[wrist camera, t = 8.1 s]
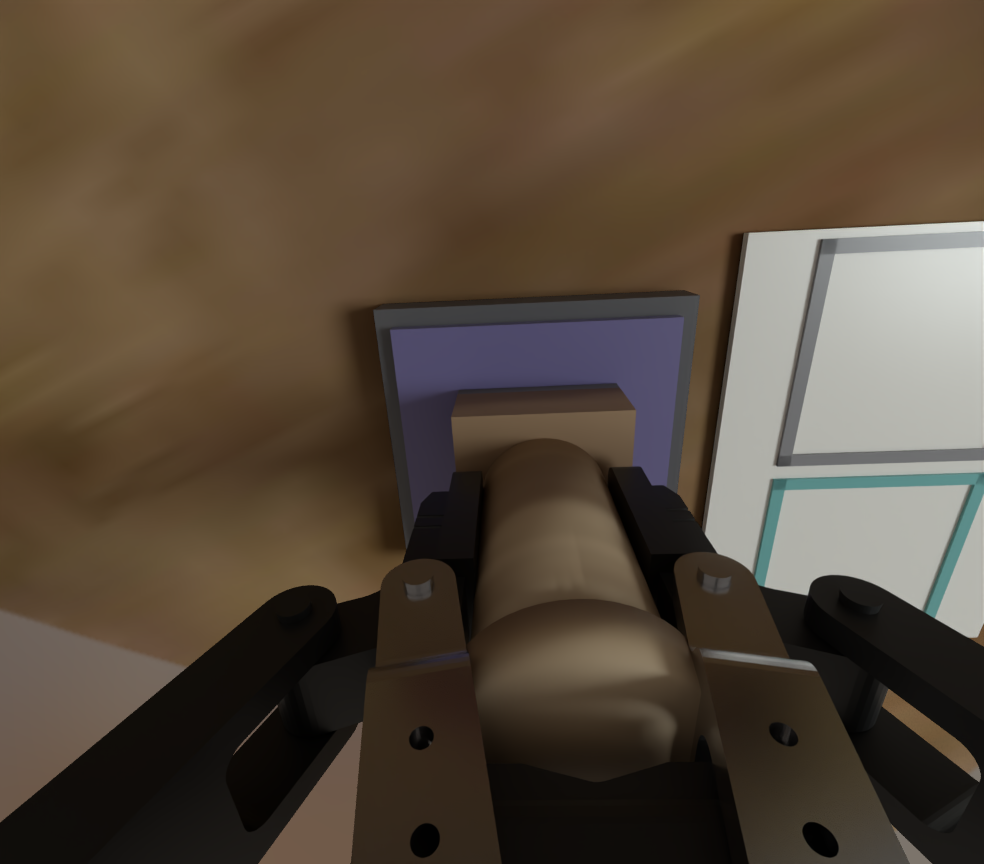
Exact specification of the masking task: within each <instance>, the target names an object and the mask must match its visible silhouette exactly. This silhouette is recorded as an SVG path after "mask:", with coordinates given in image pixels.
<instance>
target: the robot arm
mask: <svg viewBox="0 0 984 864" xmlns="http://www.w3.org/2000/svg"><path fill="white" fill-rule="evenodd" d="M607 486H608V489H609V491H610V493H611V496H612V498H613V501H614V503H615V506H616V508H617V511H618V513H619V516H620V518H621V521H622V523H623V526H624V528H625V530H626V533H627V535H628V538H629V540H630V543H631V545H632V548H633V550H634V553H635V555H636V558H637V560H638V563H639V565H640V568H641V570H642V572H643V575H644V577H645V580H646V582H647V585H648V587H649V590H650V592H651V595H652V597H653V600H654V602H655V605H656V607H657V610H658V612H659V614H660V617H661V619H663V620H665V621H666V622H667V623H669V624H670V625H672V626H673V627H675V628H676V629H677V630H678V631H679V632H680V633H681V634H683V635H684V636H685V637H686V639H687V643H688V646H689V650H690V653H691V657H692V660H693V664H694V667H695V671H696V674H697V678H698V682H699V685H700V689H701V697H700V703H699V709H698V715H697V721H696V727H695V733H694V739H693V744H692V750H691V756H690V762H666V763H663V764H660V765H656V766H653V767H650V768H646V769H643V770H640V771H636V772H633V773H630V774H626V775H623V776H620V777H617V778H613V779H610V780H607V781H602V782H592V781H587V780H583V779H580V778H576V777H572V776H568V775H564V774H560V773H557V772H553V771H549V770H545V769H541V768H538V767H534V766H530V765H526V764H522V763H487V764H486V759H485V753H484V746H483V740H482V734H481V727H480V721H479V714H478V708H477V701H476V695H475V689H474V682H473V676H472V669H471V663H470V657H469V652H468V651H467V649H466V645H467V644H468V643H469V642H470V641H471V630H472V618H473V605H474V597H475V591H476V581H477V568H478V555H479V542H480V529H481V516H482V503H483V490H484V489H483V475H482V471H465V472H453V474H452V479H451V483H450V488H449V491H440V492H432V493H431V494H430V495H429V496H428V497H426V498H425V499H424V500H423V501H422V502H421V504H420V507H419V511H418V514H417V518H416V521H415V524H414V529H413V530H412V534H411V537H410V540H409V544H408V547H407V550H406V554H405V557H404V560H403V563H402V564H400V565H398V566H397V567H395V568H394V569H392V570H391V571H390V572H389V573H388V574H387V575H386V576H385V578H384V579H383V581H382V584H381V590H380V591H378V592H376V593H373V594H371V595H368V596H365V597H362V598H358V599H354V600H350V601H346V602H342V603H338V604H337V602H336V598H335V596H334V594H333V593H332V592H331V591H330V590H328V589H327V588H324V587H321V586H314V585H307V586H300V587H295V588H292V589H289V590H286V591H284V592H282V593H279V594H278V595H276V596H274V597H273V598H271V599H270V600H268V601H267V602H266V603H265V604H263V605H262V606H261V607H260V608H259V609H257V610H256V611H255V612H254V613H252V614H251V615H250V616H249V617H248V618H246V619H245V620H244V621H243V622H242V623H240V624H239V625H238V626H237V627H236V628H234V629H233V630H232V631H231V632H230V633H228V634H227V635H226V636H225V637H224V638H222V639H221V640H220V641H219V642H217V643H216V644H215V645H214V646H213V647H211V648H210V649H209V650H208V651H207V652H205V653H204V654H203V655H202V656H201V657H199V658H198V659H197V660H196V661H195V662H193V663H192V664H191V665H190V666H189V667H187V668H186V669H185V670H184V671H183V672H181V673H180V674H179V675H178V676H177V677H175V678H174V679H173V680H172V681H171V682H169V683H168V684H167V685H166V686H164V687H163V688H162V689H161V690H160V691H158V692H157V693H156V694H155V695H154V696H152V697H151V698H150V699H149V700H148V701H146V702H145V703H144V704H143V705H142V706H140V707H139V708H138V709H137V710H135V711H134V712H133V713H132V714H131V715H129V716H128V717H127V718H126V719H125V720H124V721H122V722H121V723H120V724H119V725H117V726H116V727H115V728H114V729H113V730H111V731H110V732H109V733H108V734H107V735H105V736H104V737H103V738H102V739H101V740H99V741H98V742H97V743H96V744H94V745H93V746H92V747H91V748H90V749H88V750H87V751H86V752H85V753H84V754H82V755H81V756H80V757H79V758H78V759H76V760H75V761H74V762H73V763H72V764H70V765H69V766H68V767H67V768H66V769H64V770H63V771H62V772H61V773H59V774H58V775H57V776H56V777H55V778H53V779H52V780H51V781H50V782H49V783H48V784H46V785H45V786H44V787H43V788H41V789H40V790H39V791H38V792H37V793H35V794H34V795H33V796H32V797H31V798H29V799H28V800H27V801H26V802H24V803H23V804H22V805H21V806H20V807H19V808H17V809H16V810H15V811H14V812H12V813H11V814H10V815H9V816H8V817H6V818H5V819H4V820H3V821H2V822H0V864H258V863H259V862H260V860H261V859H262V858H263V856H264V855H265V854H266V852H267V851H268V849H269V848H270V847H271V845H272V844H273V843H274V841H275V840H276V838H277V837H278V836H279V834H280V833H281V832H282V830H283V829H284V828H285V826H286V825H287V823H288V822H289V821H290V819H291V818H292V817H293V815H294V814H295V812H296V811H297V810H298V808H299V807H300V806H301V804H302V803H303V801H304V800H305V798H306V797H307V796H308V795H309V793H310V792H311V790H312V789H313V788H314V786H315V785H316V784H317V782H318V781H319V780H320V778H321V777H322V775H323V774H324V772H325V771H326V770H327V769H328V767H329V766H330V764H331V763H332V762H333V760H334V759H335V757H336V756H337V755H338V753H339V752H340V751H341V749H342V748H343V747H344V745H345V744H346V742H347V741H348V740H349V738H350V737H351V736H352V734H353V733H354V731H355V729H356V727H357V725H358V723H360V722H363V728H362V738H361V750H360V762H359V774H358V786H357V798H356V809H355V821H354V834H353V845H352V857H351V864H910V863H909V861H908V859H907V857H906V855H905V853H904V850H903V848H902V846H901V844H900V842H899V840H898V838H897V836H896V834H895V832H894V830H893V827H892V825H893V826H894V827H895V828H896V829H897V830H898V831H899V832H900V833H901V834H902V835H903V836H904V837H905V838H906V839H907V840H908V841H909V842H910V843H912V844H913V846H915V847H916V848H917V849H918V850H919V851H920V852H921V853H922V854H923V855H924V856H925V857H926V858H927V859H928V860H929V861H930V862H931V863H932V864H984V647H983V646H982V645H980V644H978V643H976V642H975V641H973V640H971V639H969V638H968V637H966V636H964V635H963V634H961V633H959V632H957V631H956V630H954V629H952V628H951V627H949V626H947V625H945V624H944V623H942V622H940V621H939V620H937V619H935V618H933V617H932V616H930V615H928V614H926V613H925V612H923V611H921V610H920V609H918V608H916V607H914V606H913V605H911V604H909V603H908V602H906V601H904V600H902V599H901V598H899V597H897V596H896V595H894V594H892V593H890V592H889V591H887V590H885V589H883V588H881V587H879V586H877V585H875V584H873V583H870V582H868V581H865V580H862V579H858V578H855V577H850V576H844V575H826V576H821V577H818V578H817V579H815V580H814V581H813V582H812V583H811V585H810V588H809V592H808V595H803V594H798V593H792V592H787V591H782V590H776V589H772V588H767V587H764V586H760V585H758V583H757V581H756V579H755V577H754V575H753V574H752V573H751V571H750V570H749V569H748V568H746V567H745V566H744V565H742V564H741V563H739V562H738V561H736V560H734V559H731V558H729V557H727V556H723V555H720V554H718V553H717V552H716V550H715V549H714V547H713V546H712V544H711V543H710V541H709V540H708V538H707V537H706V535H705V534H704V532H703V531H702V529H701V528H700V526H699V525H698V523H697V521H695V518H694V517H693V515H692V514H691V512H690V511H688V508H687V506H686V505H685V503H684V502H683V500H682V499H681V497H680V496H679V495H678V494H676V493H675V492H673V491H672V490H670V489H669V488H667V487H666V486H664V485H651V483H650V481H649V480H648V478H647V476H646V474H645V473H644V471H643V469H642V468H641V467H640V466H631V467H610V468H609V470H608V478H607ZM888 688H889V689H890V690H891V691H893V692H894V693H895V694H897V695H898V696H900V697H901V698H902V699H904V700H905V701H906V702H908V703H909V704H910V705H912V706H913V707H914V708H916V709H917V710H918V711H920V712H921V713H922V714H924V715H925V716H926V717H928V718H929V719H930V720H932V721H933V722H935V723H936V724H937V725H939V726H940V727H941V728H943V729H944V730H945V731H947V732H948V733H949V734H951V735H952V736H953V737H955V738H956V739H957V740H958V741H960V742H961V743H962V744H963V745H964V746H965V747H966V748H967V749H968V750H969V752H970V753H971V754H972V756H973V757H974V758H975V760H976V762H977V764H978V766H979V769H980V773H981V779H980V782H978V781H977V780H975V779H974V778H972V777H971V776H970V775H969V774H967V773H966V772H965V771H964V770H962V769H961V768H960V767H959V766H957V765H956V764H955V763H953V762H952V761H951V760H950V759H948V758H947V757H946V756H944V755H943V754H942V753H941V752H939V751H938V750H937V749H935V748H934V747H933V746H932V745H930V744H929V743H928V742H927V741H925V740H924V739H923V738H921V737H920V736H919V735H918V734H916V733H915V732H914V731H912V730H911V729H910V728H909V727H907V726H906V725H905V724H904V723H902V722H901V721H900V720H898V719H897V718H896V717H895V716H893V715H892V714H891V713H889V712H888V711H887V710H886V709H884V708H883V707H882V704H883V701H884V699H885V696H886V693H887V691H888ZM276 705H278V707H277V708H276V709H275V711H274V712H273V713H272V714H271V715H270V716H269V717H268V718H267V719H266V720H265V721H264V723H263V724H262V725H261V726H260V727H259V728H258V729H257V730H256V731H255V732H254V733H253V734H252V735H251V737H250V738H249V739H248V740H247V741H246V742H245V743H244V744H243V745H242V746H241V747H240V749H239V750H238V751H237V752H236V753H235V751H236V749H237V748H238V747H239V745H240V744H241V743H242V742H243V741H244V740H245V739H246V738H247V737H248V735H249V734H250V733H251V732H252V731H253V730H254V729H255V728H256V727H257V726H258V725H259V724H260V722H261V721H262V720H263V719H264V718H265V717H266V716H267V715H268V714H269V713H270V712H271V711H272V709H274V707H275V706H276ZM234 753H235V754H234ZM233 754H234V755H233ZM891 824H892V825H891Z"/></svg>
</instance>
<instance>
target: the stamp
mask: <svg viewBox="0 0 984 864" xmlns="http://www.w3.org/2000/svg"><path fill="white" fill-rule="evenodd" d="M451 422H452V434H453V445H454V456H455V467H456V472H465V471H482V475H483V489H484V490H483V503H482V516H481V529H480V542H479V555H478V568H477V581H476V591H475V597H474V605H473V618H472V630H471V641H470V642H469V643H468V644H467V645H466V649H467V651H468V652H469V657H470V663H471V669H472V676H473V682H474V689H475V695H476V701H477V708H478V714H479V721H480V727H481V734H482V740H483V746H484V753H485V759H486V764H487V763H522V764H526V765H530V766H534V767H538V768H541V769H545V770H549V771H553V772H557V773H560V774H564V775H568V776H572V777H576V778H580V779H583V780H587V781H592V782H602V781H607V780H610V779H613V778H617V777H620V776H623V775H626V774H630V773H633V772H636V771H640V770H643V769H646V768H650V767H653V766H656V765H660V764H663V763H666V762H690V756H691V750H692V744H693V739H694V733H695V727H696V721H697V715H698V709H699V703H700V697H701V689H700V685H699V682H698V678H697V674H696V671H695V667H694V664H693V660H692V657H691V653H690V650H689V646H688V643H687V639H686V637H685V636H684V635H683V634H681V633H680V632H679V631H678V630H677V629H676V628H675V627H673V626H672V625H670V624H669V623H667V622H666V621H665V620H663V619H661V617H660V614H659V612H658V610H657V607H656V605H655V602H654V600H653V597H652V595H651V592H650V590H649V587H648V585H647V582H646V580H645V577H644V575H643V572H642V570H641V568H640V565H639V563H638V560H637V558H636V555H635V553H634V550H633V548H632V545H631V543H630V540H629V538H628V535H627V533H626V530H625V528H624V526H623V523H622V521H621V518H620V516H619V513H618V511H617V508H616V506H615V503H614V501H613V498H612V496H611V493H610V491H609V489H608V486H607V478H608V470H609V468H610V467H631V466H632V465H633V451H634V436H635V422H636V409H635V408H634V406H633V405H632V404H631V402H630V401H629V399H628V398H627V397H626V395H625V394H624V393H623V391H622V390H621V389H620V387H619V386H618V384H617V383H613V384H589V385H564V386H540V387H516V388H492V389H468V390H459V391H458V394H457V398H456V401H455V405H454V409H453V412H452V416H451Z"/></svg>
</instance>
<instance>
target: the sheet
mask: <svg viewBox="0 0 984 864" xmlns="http://www.w3.org/2000/svg"><path fill="white" fill-rule="evenodd" d="M702 531H703V532H704V534H705V535H706V537H707V538H708V540H709V541H710V543H711V544H712V546H713V547H714V549H715V550H716V552H717V553H718V554H720V555H723V556H727V557H729V558H731V559H734V560H736V561H738V562H739V563H741V564H742V565H744V566H745V567H746V568H748V569H749V570H750V571H751V573H752V574H753V575H754V577H755V579H756V581H757V583H758V585H760V586H764V587H767V588H772V589H776V590H782V591H787V592H792V593H798V594H803V595H808V592H809V588H810V585H811V583H812V582H813V581H814V580H815V579H817V578H818V577H821V576H826V575H844V576H850V577H855V578H858V579H862V580H865V581H868V582H870V583H873V584H875V585H877V586H879V587H881V588H883V589H885V590H887V591H889V592H890V593H892V594H894V595H896V596H897V597H899V598H901V599H902V600H904V601H906V602H908V603H909V604H911V605H913V606H914V607H916V608H918V609H920V610H921V611H923V612H925V613H926V614H928V615H930V616H932V617H933V618H935V619H937V620H939V621H940V622H942V623H944V624H945V625H947V626H949V627H951V628H952V629H954V630H956V631H957V632H959V633H961V634H963V635H964V636H966V637H978V635H979V632H980V630H981V628H982V626H983V624H984V221H976V222H955V223H935V224H915V225H895V226H875V227H855V228H834V229H814V230H794V231H774V232H754V233H744V236H743V243H742V250H741V258H740V265H739V272H738V279H737V286H736V293H735V300H734V307H733V314H732V321H731V328H730V335H729V342H728V349H727V356H726V363H725V370H724V377H723V384H722V391H721V398H720V405H719V412H718V419H717V426H716V433H715V440H714V447H713V454H712V461H711V468H710V475H709V482H708V490H707V497H706V504H705V511H704V518H703V525H702Z"/></svg>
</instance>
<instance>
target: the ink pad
mask: <svg viewBox="0 0 984 864" xmlns="http://www.w3.org/2000/svg"><path fill="white" fill-rule="evenodd" d="M699 297H700V295H697V294H694V293H691V292H688V291H685V290H682V291H660V292H638V293H616V294H594V295H572V296H550V297H528V298H505V299H483V300H461V301H439V302H417V303H395V304H382V305H381V306H379V307H377V308H376V309H374V310H373V312H374V320H375V327H376V334H377V341H378V349H379V356H380V363H381V370H382V377H383V385H384V392H385V399H386V406H387V413H388V421H389V428H390V435H391V442H392V449H393V457H394V464H395V471H396V478H397V486H398V493H399V500H400V507H401V514H402V522H403V529H404V536H405V543H406V550H407V547H408V544H409V540H410V537H411V534H412V530H413V529H414V524H415V521H416V518H417V514H418V511H419V507H420V504H421V502H422V501H423V500H424V499H425V498H426V497H428V496H429V495H430V494H431V493H432V492H440V491H449V488H450V483H451V479H452V474H453V472H456V467H455V456H454V445H453V434H452V422H451V416H452V412H453V409H454V405H455V401H456V398H457V394H458V391H459V390H468V389H492V388H516V387H540V386H564V385H589V384H613V383H617V384H618V386H619V387H620V389H621V390H622V391H623V393H624V394H625V395H626V397H627V398H628V399H629V401H630V402H631V404H632V405H633V406H634V408H635V409H636V422H635V436H634V451H633V465H632V466H640V467H641V468H642V469H643V471H644V473H645V474H646V476H647V478H648V480H649V481H650V483H651V485H664V486H666V487H667V488H669V489H670V490H672V491H673V492H675V493H676V494H677V489H678V480H679V471H680V463H681V454H682V445H683V437H684V428H685V419H686V410H687V402H688V393H689V384H690V376H691V367H692V358H693V349H694V341H695V332H696V323H697V315H698V306H699Z"/></svg>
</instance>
